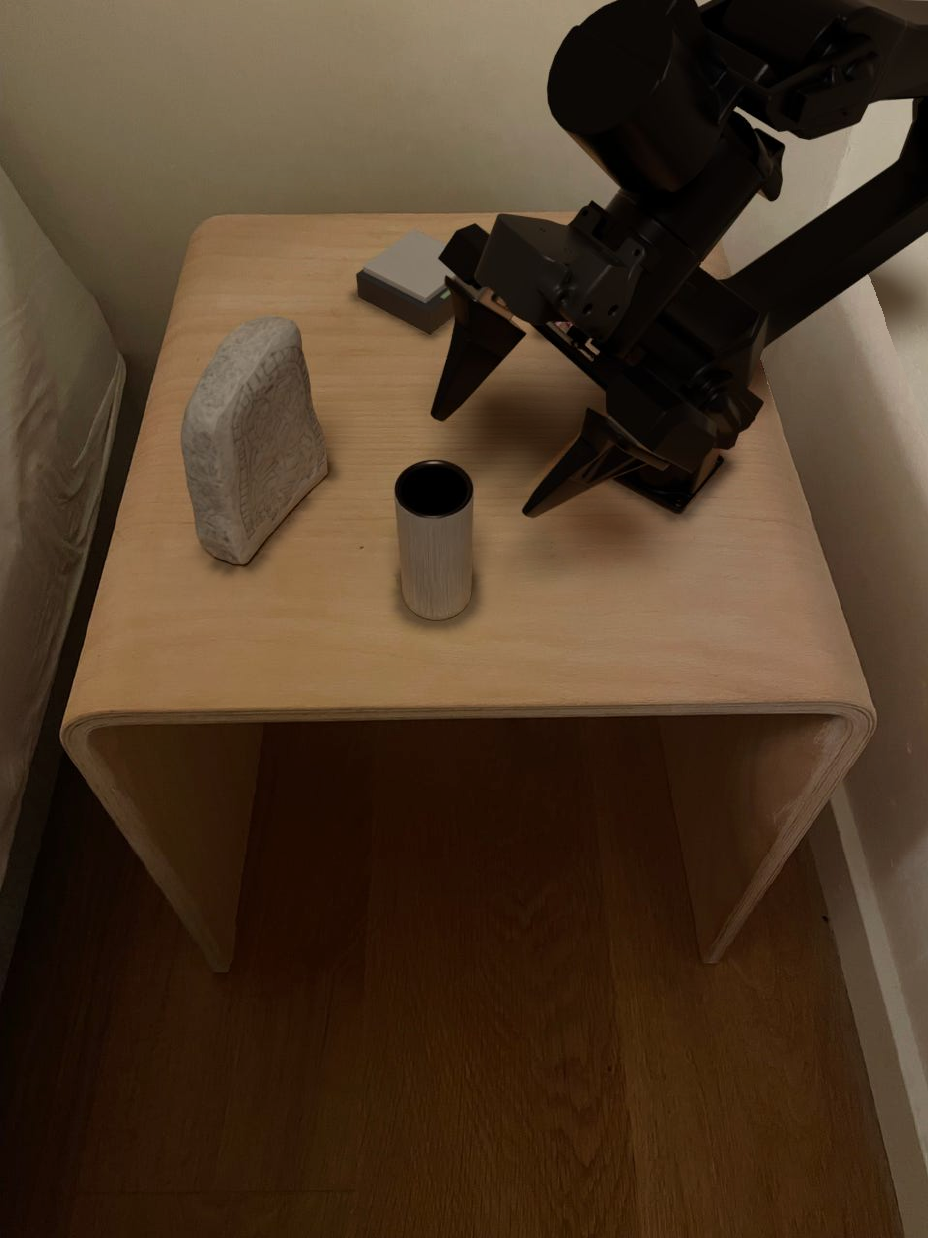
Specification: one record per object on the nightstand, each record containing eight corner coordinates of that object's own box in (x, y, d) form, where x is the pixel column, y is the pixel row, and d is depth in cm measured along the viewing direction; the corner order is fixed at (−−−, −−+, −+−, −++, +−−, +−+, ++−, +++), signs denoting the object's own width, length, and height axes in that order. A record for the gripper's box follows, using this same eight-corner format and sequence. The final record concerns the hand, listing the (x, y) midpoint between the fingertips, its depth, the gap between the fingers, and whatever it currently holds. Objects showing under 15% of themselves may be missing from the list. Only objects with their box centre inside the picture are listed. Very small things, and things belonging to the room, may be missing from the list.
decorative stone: (256, 581, 60) (204, 414, 48) (183, 548, 62) (115, 378, 49) (342, 474, 66) (315, 299, 53) (273, 447, 67) (232, 270, 55)
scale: (488, 287, 78) (489, 258, 76) (430, 334, 74) (429, 305, 72) (417, 252, 81) (416, 223, 78) (357, 296, 77) (354, 267, 75)
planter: (470, 622, 59) (473, 518, 50) (400, 620, 59) (391, 517, 50) (471, 566, 61) (474, 459, 53) (404, 564, 61) (396, 457, 53)
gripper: (467, 67, 44) (301, 333, 50) (732, 258, 36) (496, 552, 42) (575, 173, 54) (424, 388, 59) (807, 346, 45) (605, 577, 51)
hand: (479, 465), depth 52 cm, fingers open, 9 cm apart
